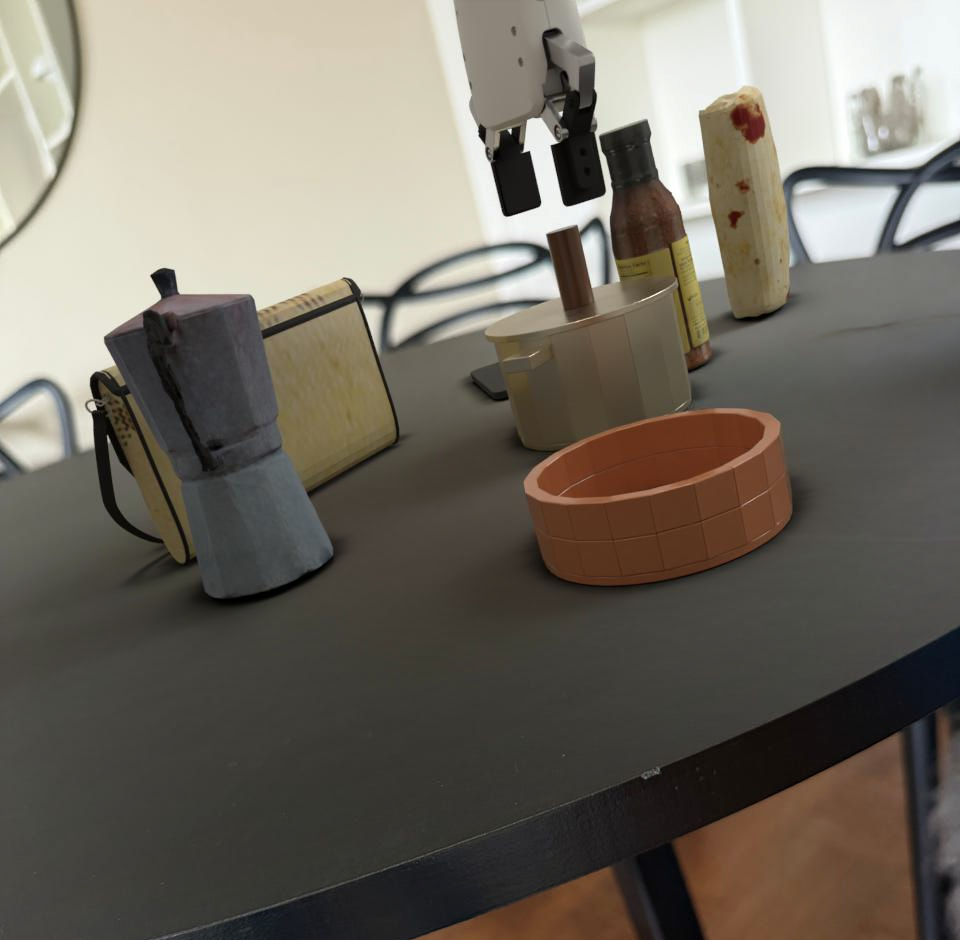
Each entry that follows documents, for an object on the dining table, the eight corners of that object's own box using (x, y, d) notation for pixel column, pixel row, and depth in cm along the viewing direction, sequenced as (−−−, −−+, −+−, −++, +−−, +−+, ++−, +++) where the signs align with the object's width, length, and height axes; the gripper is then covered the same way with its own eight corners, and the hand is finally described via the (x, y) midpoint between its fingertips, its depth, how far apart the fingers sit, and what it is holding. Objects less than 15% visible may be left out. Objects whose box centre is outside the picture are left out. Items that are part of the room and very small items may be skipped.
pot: (733, 372, 83) (714, 264, 80) (624, 457, 70) (596, 334, 67) (590, 390, 91) (568, 293, 88) (470, 469, 79) (438, 360, 75)
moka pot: (340, 522, 75) (241, 243, 67) (349, 592, 61) (225, 249, 53) (215, 562, 75) (101, 286, 67) (196, 642, 61) (47, 304, 53)
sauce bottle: (692, 354, 93) (646, 117, 85) (727, 359, 87) (682, 107, 79) (627, 377, 92) (575, 140, 84) (659, 384, 86) (607, 130, 78)
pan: (829, 476, 56) (817, 397, 55) (731, 587, 47) (714, 497, 46) (615, 488, 65) (599, 420, 63) (498, 584, 56) (475, 508, 54)
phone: (493, 394, 97) (467, 371, 111) (496, 402, 98) (469, 379, 111) (567, 370, 98) (532, 351, 111) (569, 378, 98) (534, 358, 112)
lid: (712, 278, 78) (696, 186, 75) (621, 333, 68) (599, 230, 65) (551, 308, 87) (532, 228, 85) (451, 361, 77) (425, 272, 75)
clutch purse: (365, 441, 98) (312, 283, 92) (419, 436, 94) (367, 269, 88) (116, 579, 79) (28, 389, 73) (170, 580, 74) (81, 378, 68)
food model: (795, 314, 96) (760, 80, 88) (723, 330, 98) (683, 104, 90) (802, 293, 104) (771, 76, 96) (736, 308, 106) (700, 99, 98)
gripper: (607, -124, 61) (661, 181, 68) (488, -40, 76) (542, 202, 83) (496, -100, 59) (564, 212, 66) (397, -18, 74) (461, 228, 81)
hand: (552, 206), depth 74 cm, fingers open, 9 cm apart
